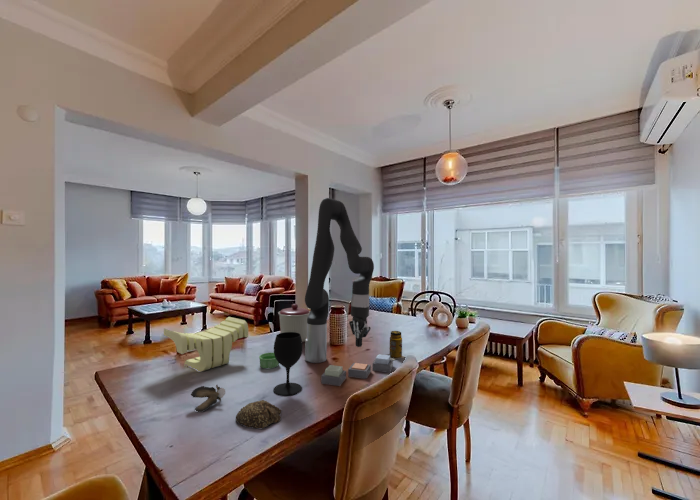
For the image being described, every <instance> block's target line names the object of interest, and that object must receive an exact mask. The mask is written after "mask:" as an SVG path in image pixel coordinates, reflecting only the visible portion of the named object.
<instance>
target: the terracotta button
mask: <svg viewBox="0 0 700 500" xmlns="http://www.w3.org/2000/svg"><path fill="white" fill-rule="evenodd" d="M354 363H355V364H354V365H353V366H352V369H357V370H366V368H367V367H368V365H369V364H367V363H358V362H354Z"/></svg>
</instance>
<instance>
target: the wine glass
mask: <svg viewBox="0 0 700 500" xmlns="http://www.w3.org/2000/svg"><path fill="white" fill-rule="evenodd" d="M303 346H304V345H303V342H302V339H301V335H300V334H299V333H296V332H284V333H281V332H280V333H277V334H276V335H275V339H274V342H273V353H274V355H275V358H276V360H277V361H278V362H279V365H281V366H282V367H284V368H285V371H286V380H285V381H286V382H283V383H280V384H277V385H276V386H274V387H273V390H272V392H273V393H274V395H276V396H277V395H278V396H280V397H291V396H295V395H298V394H299V393H301V392H302V390H303V387H302V385H301V384H299V383H296V382H290V371H291V368H292V367H293V366H295V364H296V363H298V362H299V360H300V359H301V357H302V353H303Z"/></svg>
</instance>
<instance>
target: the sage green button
mask: <svg viewBox="0 0 700 500" xmlns="http://www.w3.org/2000/svg"><path fill="white" fill-rule="evenodd" d="M343 370H344V369H343V366H340V365H333V364H329V365H328V366H327V367H326V368H325V369H324V372H325V375H327V376H334V377H339V376H340V375H341V374H342V373H343Z"/></svg>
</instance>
